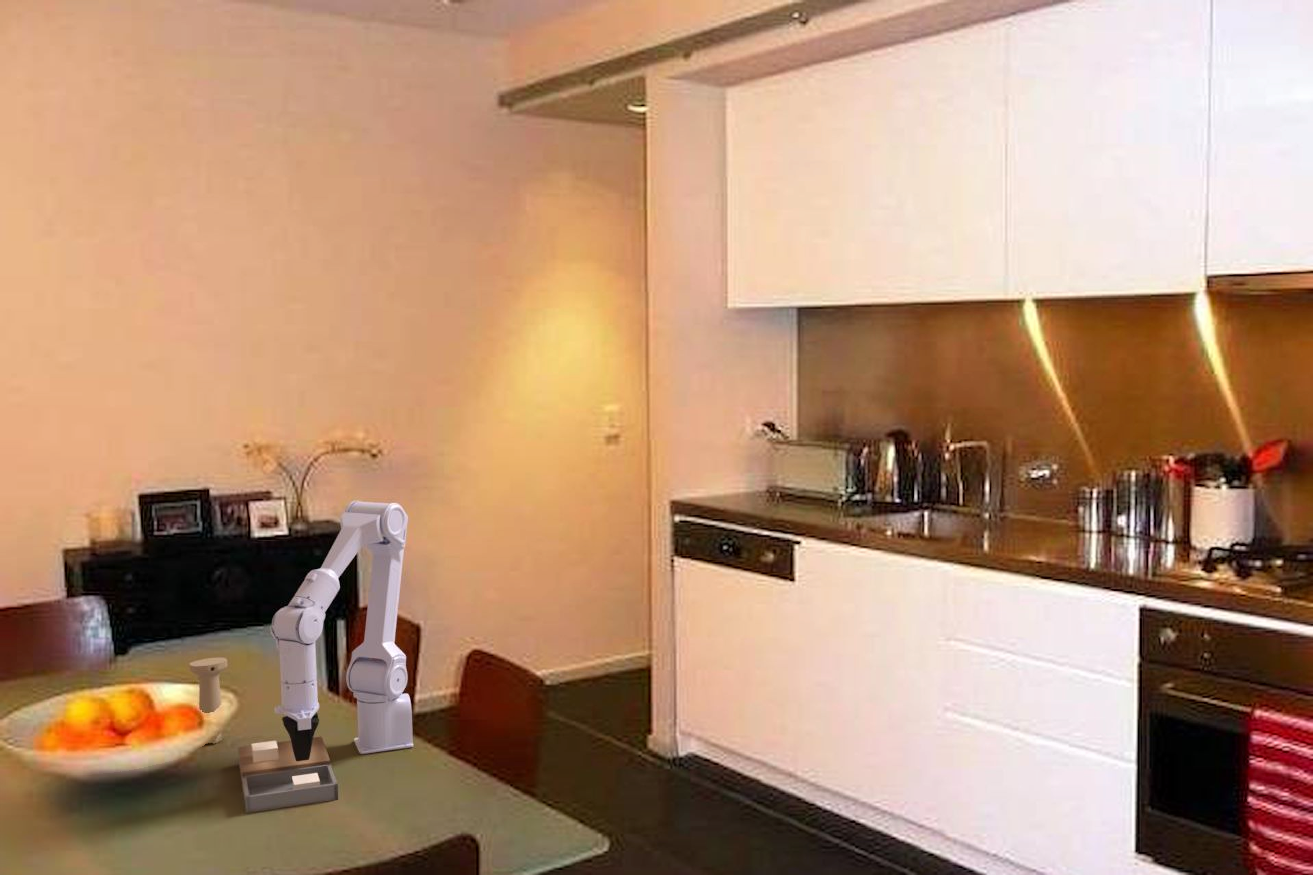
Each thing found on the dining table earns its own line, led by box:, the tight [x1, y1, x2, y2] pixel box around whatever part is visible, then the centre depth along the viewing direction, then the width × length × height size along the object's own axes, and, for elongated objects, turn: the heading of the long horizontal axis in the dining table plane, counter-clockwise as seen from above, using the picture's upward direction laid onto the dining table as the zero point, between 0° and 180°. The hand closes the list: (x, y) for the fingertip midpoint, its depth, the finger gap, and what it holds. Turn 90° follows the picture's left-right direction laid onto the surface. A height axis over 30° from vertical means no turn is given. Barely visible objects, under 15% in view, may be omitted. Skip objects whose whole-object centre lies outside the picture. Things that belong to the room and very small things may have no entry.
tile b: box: [251, 740, 278, 763], centre depth 207 cm, size 4×4×2 cm
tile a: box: [292, 773, 320, 789], centre depth 198 cm, size 4×4×2 cm
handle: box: [188, 657, 228, 744], centre depth 223 cm, size 5×6×15 cm
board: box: [237, 736, 331, 789], centre depth 209 cm, size 14×13×3 cm
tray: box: [241, 763, 339, 814], centre depth 198 cm, size 14×10×2 cm
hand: (302, 759), depth 203 cm, fingers closed
